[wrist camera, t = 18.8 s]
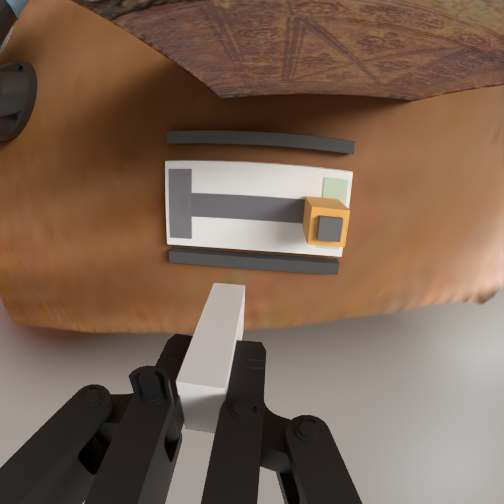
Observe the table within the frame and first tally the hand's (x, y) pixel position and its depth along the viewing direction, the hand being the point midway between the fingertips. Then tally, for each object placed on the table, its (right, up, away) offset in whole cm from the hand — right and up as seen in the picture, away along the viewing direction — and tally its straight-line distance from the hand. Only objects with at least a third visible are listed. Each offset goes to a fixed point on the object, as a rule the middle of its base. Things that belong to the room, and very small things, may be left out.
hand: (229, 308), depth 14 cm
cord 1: (+2, +17, +20) cm, 26 cm away
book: (+10, +27, +15) cm, 32 cm away
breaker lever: (+9, +7, +20) cm, 23 cm away
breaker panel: (+2, +9, +23) cm, 24 cm away
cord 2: (+1, +2, +25) cm, 26 cm away
